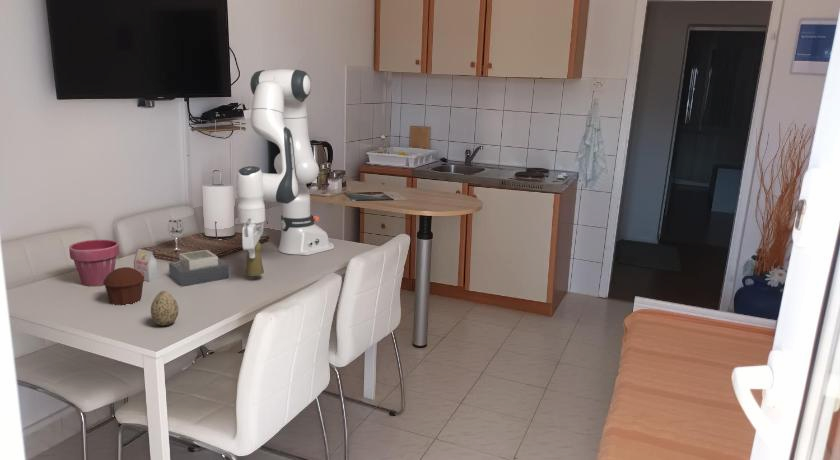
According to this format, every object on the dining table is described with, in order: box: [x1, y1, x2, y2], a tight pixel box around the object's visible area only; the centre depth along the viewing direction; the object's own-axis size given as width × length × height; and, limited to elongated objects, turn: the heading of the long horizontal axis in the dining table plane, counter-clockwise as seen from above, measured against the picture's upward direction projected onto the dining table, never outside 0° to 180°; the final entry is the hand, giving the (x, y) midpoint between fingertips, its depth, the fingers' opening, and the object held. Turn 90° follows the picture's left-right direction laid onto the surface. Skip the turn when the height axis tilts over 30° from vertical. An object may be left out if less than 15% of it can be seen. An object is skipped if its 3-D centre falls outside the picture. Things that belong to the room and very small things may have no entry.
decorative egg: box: [150, 290, 179, 327], centre depth 172 cm, size 7×7×10 cm
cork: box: [245, 242, 265, 277], centre depth 211 cm, size 6×6×11 cm
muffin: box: [103, 266, 145, 306], centre depth 188 cm, size 12×11×10 cm
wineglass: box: [167, 218, 185, 250], centre depth 239 cm, size 6×6×12 cm
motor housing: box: [168, 249, 230, 287], centre depth 211 cm, size 16×12×8 cm
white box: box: [133, 248, 159, 283], centre depth 207 cm, size 4×7×10 cm, turn 64°
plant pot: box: [68, 239, 120, 287], centre depth 202 cm, size 14×14×13 cm
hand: (253, 255), depth 211 cm, fingers closed on cork, 4 cm apart
